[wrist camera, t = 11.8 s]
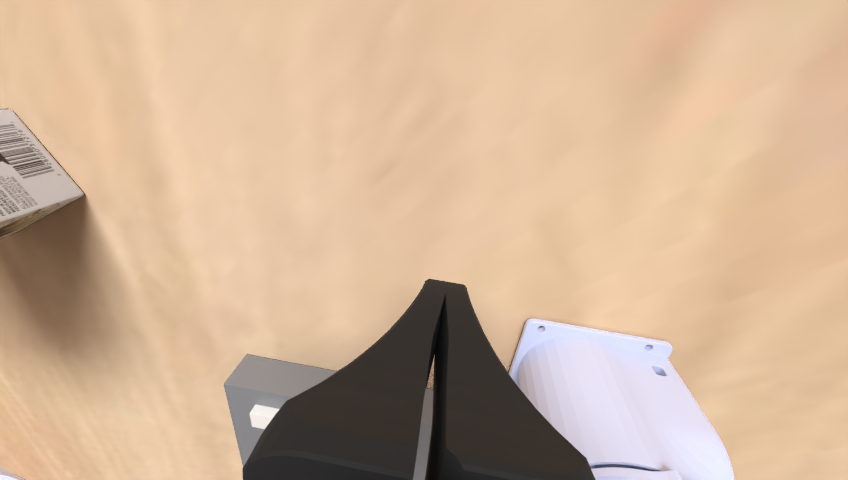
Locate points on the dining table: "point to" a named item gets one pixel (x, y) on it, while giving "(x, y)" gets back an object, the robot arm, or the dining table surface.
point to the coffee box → (28, 178)
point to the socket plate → (280, 381)
